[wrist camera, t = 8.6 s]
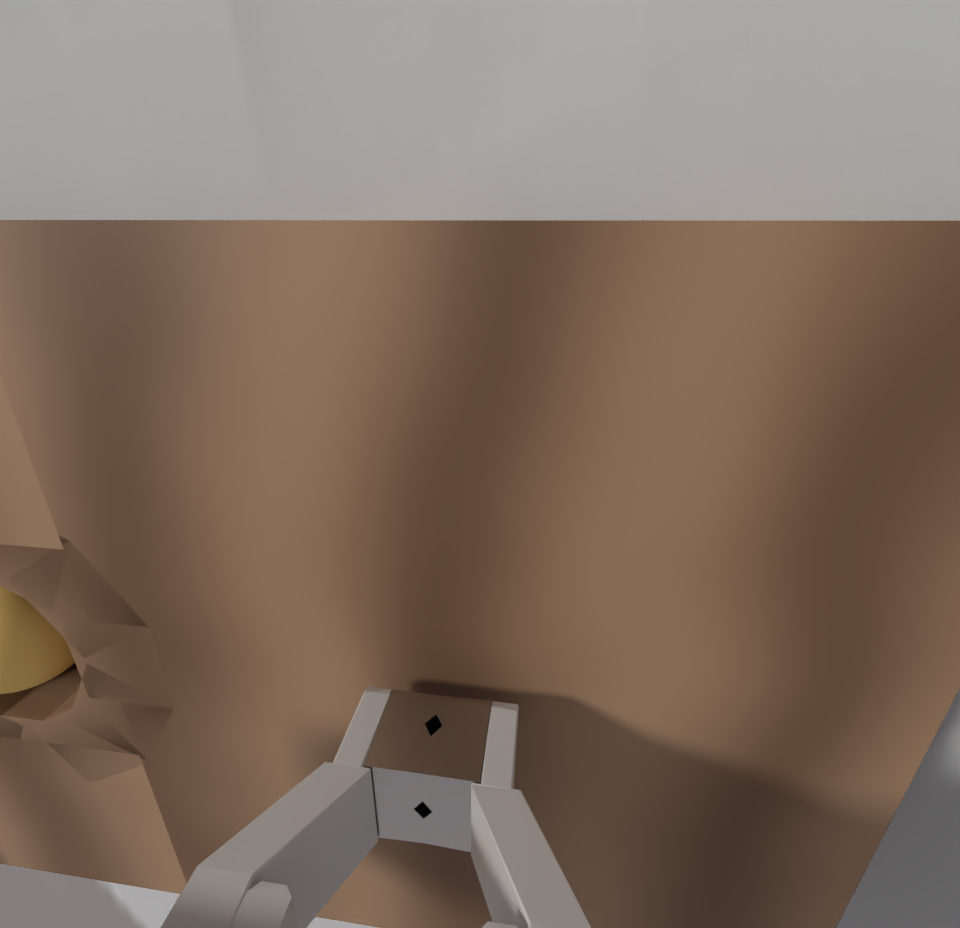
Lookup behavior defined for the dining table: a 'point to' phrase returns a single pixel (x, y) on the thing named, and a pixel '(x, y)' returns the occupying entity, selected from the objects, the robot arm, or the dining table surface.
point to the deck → (486, 540)
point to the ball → (28, 645)
